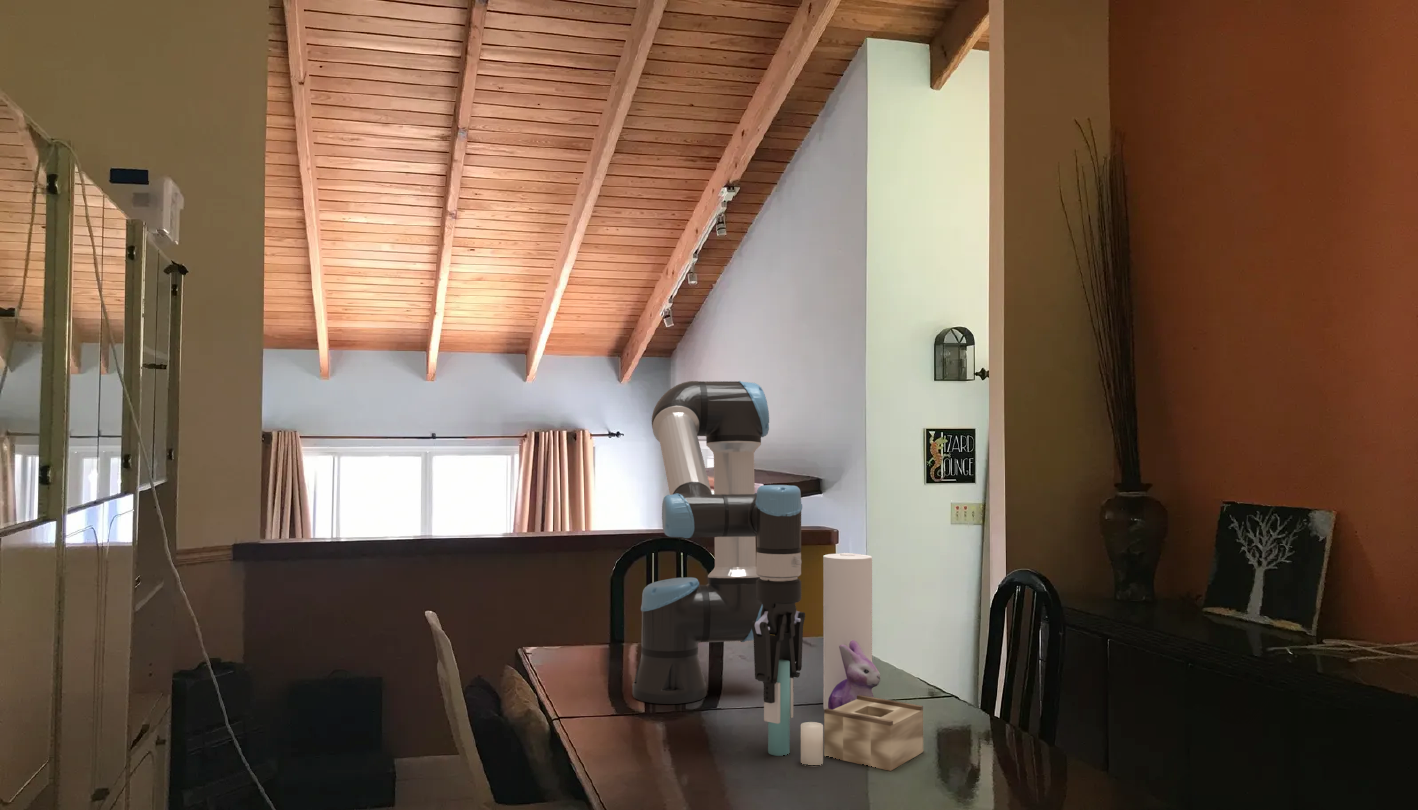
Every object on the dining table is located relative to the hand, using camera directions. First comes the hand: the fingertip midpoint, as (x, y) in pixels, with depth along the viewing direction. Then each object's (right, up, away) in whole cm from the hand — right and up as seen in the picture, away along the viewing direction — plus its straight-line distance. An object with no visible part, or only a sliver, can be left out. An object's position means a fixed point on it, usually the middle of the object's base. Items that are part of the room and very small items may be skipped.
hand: (778, 718), depth 164 cm
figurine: (+15, -7, +17) cm, 24 cm away
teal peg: (0, -6, 0) cm, 6 cm away
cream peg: (+5, -5, -5) cm, 9 cm away
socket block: (+16, -6, -1) cm, 17 cm away
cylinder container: (+15, -7, +27) cm, 32 cm away
